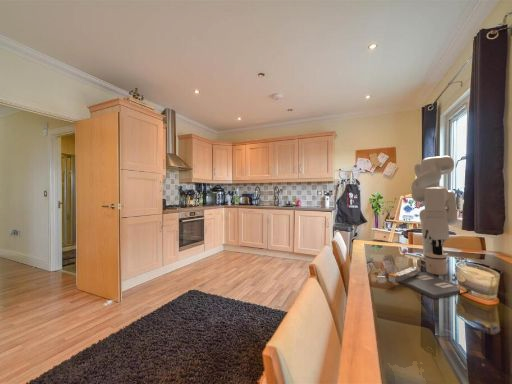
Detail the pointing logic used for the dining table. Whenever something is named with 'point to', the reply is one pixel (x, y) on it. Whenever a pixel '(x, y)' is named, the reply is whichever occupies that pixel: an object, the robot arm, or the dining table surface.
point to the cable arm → (404, 274)
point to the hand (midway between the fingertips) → (437, 254)
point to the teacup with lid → (435, 263)
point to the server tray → (431, 285)
